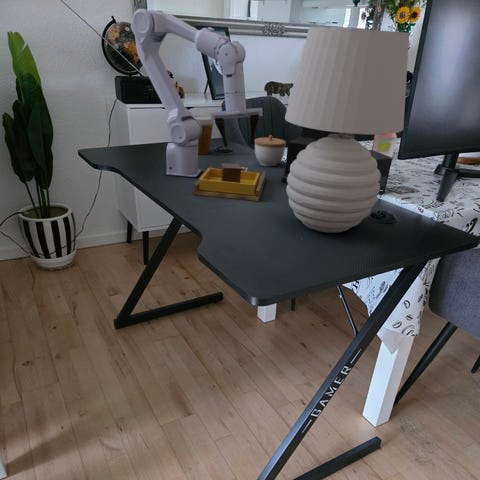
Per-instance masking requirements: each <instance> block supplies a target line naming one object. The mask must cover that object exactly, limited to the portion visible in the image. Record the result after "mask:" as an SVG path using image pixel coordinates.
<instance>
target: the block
mask: <svg viewBox="0 0 480 480" xmlns="http://www.w3.org/2000/svg"><path fill="white" fill-rule="evenodd" d="M220 167H221V168H220V169H221V181H225V182H236V183H240V179H241V167H242V166H241V165H240V164H239V163H223V162H221V166H220Z"/></svg>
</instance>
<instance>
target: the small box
mask: <svg viewBox="0 0 480 480" xmlns="http://www.w3.org/2000/svg"><path fill="white" fill-rule="evenodd" d="M368 150H369V151H370V153H371V156H372V157H373V158H374V159H376V162H377V169H379V171H380V174H381V177H380V181H379V184H380V190H383V191H380V190H379V193H378V194H377V195H381V194H386V189H387V184H388V180H389V175H390V170H391V166H392V163H393V159H394V158H393V157H389V156H387V155H384V154H381V153H379V152H376V151H373V150H372V149H368Z"/></svg>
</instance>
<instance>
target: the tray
mask: <svg viewBox="0 0 480 480" xmlns="http://www.w3.org/2000/svg"><path fill="white" fill-rule="evenodd" d="M240 167H241V179H240V183H236V182H225V181H221V168H216V167H215V168H214V167H213V168H208V167H207V168H208V170H207V171H206V172H205V171H204V172H205V173H204V172H203V173H204V175H203V176H202V177H201V176H200V177H201V178H200V177H199V178H200V179H199V178H198V179H199V190H207V191H217V192H227V193H237V194H247V195H254V194H255V191H256V189H257V186H258V183H259V176H261V173H260V172H256V171H249V167H244V166H240Z"/></svg>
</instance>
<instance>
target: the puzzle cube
mask: <svg viewBox="0 0 480 480" xmlns="http://www.w3.org/2000/svg"><path fill="white" fill-rule="evenodd" d="M397 139H398V136H397V133H392V134H374V136H373V140H372V141H373V142H372V146H371V150H373V151H376V152H379V153H381V154H384V155H387V156H389V157H392V158H393V156H394V153H395V147H396V143H397Z"/></svg>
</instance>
